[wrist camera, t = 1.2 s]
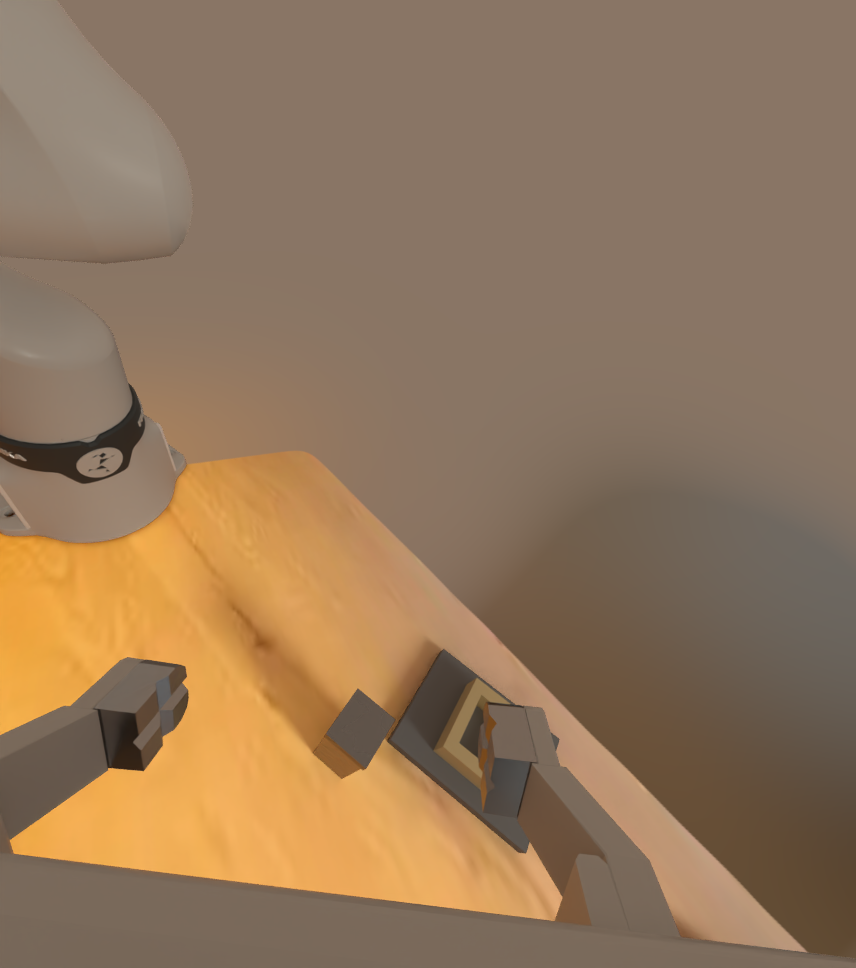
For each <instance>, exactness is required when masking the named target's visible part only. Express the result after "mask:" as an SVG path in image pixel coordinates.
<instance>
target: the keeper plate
mask: <svg viewBox="0 0 856 968" xmlns="http://www.w3.org/2000/svg"><path fill="white" fill-rule="evenodd" d="M486 702H494V703H503V704H512V705H515V704H514V703H512V702H511V701H510V700H509V699H507V698H506V697H505V696H503V695H502V694H501V693H500V692H498V691H497V690H496V689H494V688H493V687H492V686H491V685H489V684H488V683H487V682H485V681H484V680H483V679H482V678H480V677H479V676H478V675H477V674H475V673H474V672H473V671H471V670H470V669H469V668H468V667H466V666H465V665H464V664H462V663H461V662H460V661H459V660H457V659H456V658H455V657H453V656H452V655H451V654H450V653H448V652H447V651H446V650H444V649H443V650H442V651H441V652H440V653H439V655H438V656H437V658H436V660H435V661H434V663H433V665H432V667H431V668H430V670H429V672H428V673H427V675H426V677H425V678H424V680H423V682H422V684H421V685H420V687H419V689H418V690H417V692H416V694H415V695H414V697H413V699H412V700H411V702H410V704H409V706H408V707H407V709H406V711H405V712H404V714H403V716H402V717H401V719H400V721H399V723H398V724H397V726H396V728H395V729H394V731H393V733H392V734H391V736H390V738H389V739H388V741H387V742H388V743H389V744H391V745H392V746H393V747H394V748H395V749H397V750H398V751H399V752H400V753H401V754H403V755H404V756H405V757H406V758H407V759H408V760H410V761H411V762H412V763H413V764H414V765H416V766H417V767H418V768H419V769H420V770H421V771H423V772H424V773H425V774H426V775H427V776H429V777H430V778H431V779H432V780H433V781H434V782H436V783H437V784H438V785H439V786H440V787H442V788H443V789H444V790H445V791H446V792H448V793H449V794H450V795H451V796H452V797H453V798H455V799H456V800H457V801H458V802H459V803H461V804H462V805H463V806H464V807H465V808H466V809H468V810H469V811H470V812H471V813H472V814H474V815H475V816H476V817H477V818H478V819H479V820H481V821H482V822H483V823H484V824H485V825H487V826H488V827H489V828H490V829H491V830H493V831H494V832H495V833H496V834H497V835H498V836H500V837H501V838H502V839H503V840H504V841H506V842H507V843H508V844H509V845H510V846H511V847H513V848H514V849H515V850H516V851H517V852H519V853H526V852H527V849H528V845H529V842H530V841H529V839H528V838H527V836H526V834H525V833H524V831H523V829H522V828H521V826H520V824H519V822H518V821H517V819H518V818H513V817H506V816H500V815H493V814H487V813H483V809H482V798H481V787H480V783H481V778H482V773H483V772H482V770H481V769H480V768H479V763H478V739H479V731H480V726H481V725H482V724H483V723H484V718H483V710H484V705H485V703H486ZM550 733H551V732H550ZM551 736H552V740H553V743H554V746H555V750H556V749H557V746H558V743H559V738H557V737H556V736H555V735H553V734H552V733H551Z"/></svg>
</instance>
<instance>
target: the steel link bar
mask: <svg viewBox="0 0 856 968" xmlns="http://www.w3.org/2000/svg"><path fill="white" fill-rule="evenodd" d="M394 721H395V719H394V718H393V717H392V716H390V715H389V714H388V713H387V712H386V711H384V710H383V709H382V708H381V707H380V706H378V705H377V704H376V703H375V702H374V701H372V700H371V699H370V698H369V697H368V696H366V695H365V694H364V693H363V692H362V691H360V690H359V689H357V690H356V692H355V693H354V695H353V696H352V697H351V699H350V700H349V702H348V703H347V705H346V706H345V707H344V709H343V710H342V712H341V713H340V714H339V716H338V717H337V719H336V720H335V722H334V723H333V724H332V726H331V727H330V729H329V730H328V731H327V733H326V734H325V736H324V738H323V740H322V741H321V743H320V744H319V745H318V747H317V748H316V750H315V751H314V752H313V754H314V755H315V756H316V757H317V758H319V759H320V760H321V761H322V762H323V763H324V764H325V765H327V766H328V767H329V768H330V769H331V770H332V771H333V772H334V773H336V774H337V775H338V776H339V777H340V778H341V779H343V778H345V777H347V776H348V775H350V774H352V773H354V772H356V771H358V770H360V769H362V770H365V769H366V768H367V766H368V765H369V763H370V761H371V760H372V758H373V756H374V755H375V753H376V751H377V750H378V748H379V746H380V745H381V743H382V741H383V740H384V738H385V736H386V735H387V733H388V731H389V729H390V728H391V726H392V724H393V723H394Z"/></svg>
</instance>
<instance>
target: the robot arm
mask: <svg viewBox="0 0 856 968" xmlns="http://www.w3.org/2000/svg"><path fill="white" fill-rule="evenodd" d="M192 210H193V198H192V187H191V183H190V178H189V174H188V171H187V168H186V165H185V162H184V159H183V157H182V155H181V152H180V150H179V148H178V146H177V144H176V142H175V140H174V139H173V137H172V135H171V133H170V132H169V130H168V129H167V127H166V126H165V124H164V123H163V121H162V120H161V119H160V117H159V116H158V115H157V114H156V112H155V111H154V110H153V108H152V107H151V106H150V105H149V104H148V103H147V102H146V101H145V100H144V98H142V96H140V95H139V94H138V93H137V92H136V91H135V90H134V89H133V88H132V87H131V86H130V85H129V84H128V83H126V82H125V81H124V80H123V79H122V78H121V77H120V76H119V75H118V74H117V73H116V72H115V71H114V69H113V68H112V67H111V66H110V65H109V64H108V63H107V62H106V61H105V60H104V59H103V58H102V57H101V55H100V54H99V53H98V52H97V51H96V50H95V48H94V47H93V46H92V45H91V44H90V43H89V41H88V40H87V39H86V38H85V36H84V35H83V34H82V33H81V31H80V30H79V29H78V27H77V26H76V25H75V24H74V22H73V21H72V20H71V18H70V17H69V16H68V15H67V13H66V12H65V10H64V9H63V7H62V6H61V5H60V3H59V2H58V0H0V256H1V257H16V258H30V259H44V260H59V261H73V262H87V263H101V264H107V263H117V262H128V261H138V260H145V259H153V258H160V257H167V256H171V255H173V254H174V253H175V251H176V250H177V249H178V248H179V247H180V245H181V244H182V243H183V241H184V239H185V237H186V235H187V233H188V230H189V227H190V223H191V219H192ZM186 464H187V463H186V460H185V457H184V456H183V455H182V454H181V453H179V452H178V451H177V450H175V449H174V448H172V447H171V446H170V445H168V444H167V441H166V438H165V435H164V433H163V430H162V427H161V426H160V424H159V423H155V422H154V421H153V420H152V419H150V418H149V417H147V416H146V415H144V414H143V408H142V405H141V402H140V400H139V398H138V396H137V395H136V392H135V390H134V389H133V387H132V386H131V385H130V384H129V383H128V381H127V378H126V374H125V371H124V368H123V365H122V361H121V358H120V355H119V351H118V348H117V345H116V342H115V338H114V335H113V333H112V331H111V330H110V328H109V327H108V325H107V324H106V323H105V322H104V320H103V319H102V318H100V316H98V314H96V313H95V312H94V311H93V310H92V309H91V308H90V307H88V306H87V305H86V304H85V303H83V302H82V301H80V300H79V299H78V298H76V297H74V296H73V295H71V294H69V293H67V292H65V291H63V290H61V289H58V288H56V287H54V286H51V285H49V284H45V283H43V282H41V281H39V280H36V279H33V278H31V277H29V276H27V275H24V274H22V273H20V272H18V271H16V270H15V269H13V268H11V267H9V266H8V265H6V264H5V263H3V262H2V261H0V533H2V534H4V535H8V536H31V535H39V536H45V537H49V538H52V539H56V540H60V541H65V542H74V543H92V542H101V541H107V540H111V539H115V538H119V537H122V536H125V535H128V534H130V533H132V532H135V531H137V530H139V529H141V528H142V527H144V526H146V525H147V524H149V523H150V522H152V521H153V520H154V519H156V518H157V517H158V516H159V515H160V514H161V513H162V512H163V511H164V510H165V508H166V507H167V506H168V504H169V502H170V501H171V499H172V496H173V493H174V488H175V482H176V479H177V477H178V476H179V475H180V474H181V473H182V471H183V470H184V469H185V467H186ZM11 514H14V515H13V516H11V517H8V516H9V515H11ZM186 677H187V674H186V668H185V666H182V665H178V664H172V663H165V662H158V661H152V660H142V659H136V658H129V657H127V658H125V659H122V660H120V661H119V662H118V663H117V664H116V665H115V666H114V667H113V668H111V669H110V670H109V671H108V672H107V673H106V674H105V675H104V676H103V677H102V678H101V679H99V680H98V681H97V682H96V683H95V684H94V685H93V686H92V687H91V688H90V689H89V690H87V691H86V692H85V693H84V694H83V695H82V696H81V697H80V698H79V699H78V700H77V701H75V702H74V703H73V704H72V705H71V706H63V707H60V708H58V709H56V710H54V711H52V712H50V713H47V714H45V715H43V716H41V717H39V718H37V719H34V720H32V721H30V722H28V723H26V724H24V725H21V726H19V727H17V728H15V729H13V730H11V731H8V732H6V733H4V734H2V735H0V968H856V959H854V958H846V957H838V956H830V955H822V954H814V953H806V952H798V951H790V950H782V949H774V948H766V947H758V946H750V945H742V944H733V943H725V942H717V941H709V940H701V939H693V938H685V937H681V936H680V934H679V931H678V929H677V926H676V924H675V921H674V919H673V916H672V914H671V912H670V909H669V907H668V904H667V902H666V899H665V897H664V894H663V892H662V890H661V887H660V885H659V882H658V880H657V877H656V875H655V872H654V870H653V868H652V865H651V863H650V861H649V859H648V858H647V857H646V856H645V855H644V854H643V853H642V852H641V850H640V849H639V848H638V847H637V846H636V845H635V844H634V843H633V842H632V840H631V839H630V838H629V837H628V836H627V835H626V834H625V833H624V831H623V830H622V829H621V828H620V827H619V826H618V825H617V824H616V823H615V821H614V820H613V819H612V818H611V817H610V816H609V815H608V814H607V812H606V811H605V810H604V809H603V808H602V807H601V806H600V805H599V804H598V802H597V801H596V800H595V799H594V798H593V797H592V796H591V795H590V793H589V792H588V791H587V790H586V789H585V788H584V787H583V786H582V785H581V783H580V782H579V781H578V780H577V779H576V778H575V777H574V776H573V774H572V773H571V772H570V771H569V770H568V769H567V768H566V767H560V764H559V760H558V757H557V753H556V750H555V746H554V743H553V740H552V736H551V733H550V729H549V726H548V722H547V719H546V715H545V712H544V710H543V709H542V708H539V707H530V706H521V705H512V704H503V703H494V702H486V703H485V705H484V710H483V718H484V723H483V724H482V725H481V726H480V731H479V739H478V763H479V768H480V769H481V770H482V772H483V773H482V778H481V783H480V787H481V798H482V809H483V813H487V814H493V815H500V816H506V817H513V818H518V819H517V821H518V822H519V824H520V826H521V828H522V829H523V831H524V833H525V834H526V836H527V838H528V839H529V841H530V843H531V844H532V846H533V848H534V850H535V851H536V853H537V855H538V856H539V858H540V860H541V861H542V863H543V865H544V866H545V868H546V870H547V872H548V873H549V875H550V877H551V878H552V880H553V882H554V883H555V885H556V887H557V888H558V890H559V892H560V894H561V895H562V897H563V898H562V901H561V904H560V907H559V910H558V913H557V916H556V919H555V921H549V920H541V919H533V918H525V917H517V916H509V915H500V914H492V913H484V912H476V911H468V910H460V909H452V908H444V907H436V906H428V905H420V904H412V903H404V902H396V901H388V900H380V899H372V898H364V897H356V896H348V895H340V894H331V893H323V892H315V891H307V890H299V889H291V888H283V887H275V886H267V885H259V884H251V883H243V882H235V881H227V880H219V879H211V878H202V877H194V876H186V875H178V874H170V873H162V872H154V871H146V870H138V869H130V868H122V867H114V866H106V865H98V864H90V863H82V862H74V861H66V860H58V859H50V858H42V857H34V856H26V855H18V854H14V853H13V850H12V847H11V843H10V839H12V838H13V837H15V836H16V835H18V834H19V833H20V832H22V831H23V830H25V829H26V828H27V827H29V826H30V825H32V824H33V823H34V822H36V821H37V820H39V819H40V818H41V817H43V816H44V815H46V814H47V813H48V812H50V811H51V810H53V809H54V808H56V807H57V806H58V805H60V804H61V803H63V802H64V801H65V800H67V799H68V798H70V797H71V796H72V795H74V794H75V793H77V792H78V791H79V790H81V789H82V788H84V787H85V786H86V785H88V784H89V783H91V782H92V781H94V780H95V779H96V778H98V777H99V776H101V775H102V774H103V773H105V772H106V771H108V768H115V769H127V770H138V771H144V770H145V769H146V767H147V766H148V765H149V763H150V762H151V761H152V759H153V758H154V757H155V755H156V754H157V752H158V751H159V750H160V748H161V747H162V746H163V736H164V735H166V734H168V733H169V732H171V731H173V730H174V729H175V728H176V726H177V725H178V724H179V722H180V721H181V719H182V717H183V715H184V713H185V710H186V708H187V704H188V698H189V697H188V689H187V688H186V687H185V686H184V685H183V683H182V682H183V681H184V680H185V678H186Z"/></svg>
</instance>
